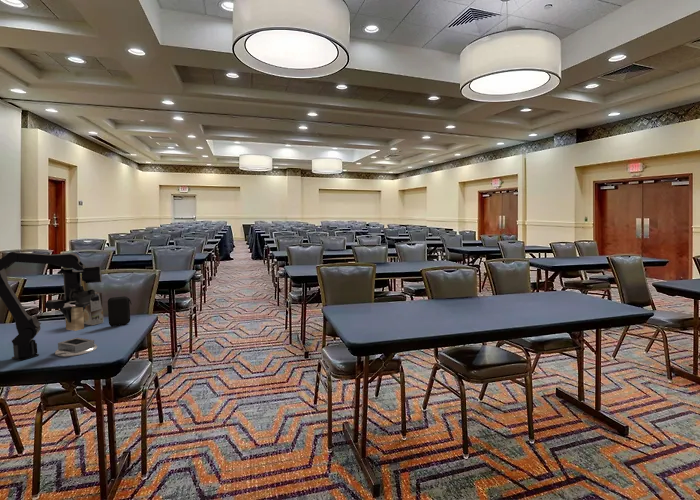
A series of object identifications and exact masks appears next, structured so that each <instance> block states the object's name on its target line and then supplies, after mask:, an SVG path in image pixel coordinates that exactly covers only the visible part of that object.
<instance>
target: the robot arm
mask: <svg viewBox="0 0 700 500" xmlns="http://www.w3.org/2000/svg"><path fill="white" fill-rule="evenodd" d="M15 263H24V264H25V263H26V264H27V263H29V264H43V265H53V266H56V267H57V266H58V267H60V268H61V269H60V270H59V271H58V272H56V273H57V275H63V286H62V287H61V290H63V291H64V292H63V293H64V296H62V299H51V300H47V301H46V302H45V303H44V308H45V309H49V310H50V309H51V310H58V309H59V310H60V312H61V313H62V314H63V316H64V317H66V319H67V321H68V322H69V323H71V309H72V305H71V304H75V305H74V306H76V307H83V312H84V309H85V307H86V306H87V305H89V304H90V303H89V302H90V301H93V302H94V301H99V295H98V294H95V292H96V291H95V289H88V290H84V286H83V285H82V282H85V284H90V283H92V284H93V283H102V281H103V280H102V278H103V277H102V276H103V275H102V271H101V266H100V265H95V266H86V265H85V264H84V263H83V262H82V261H81V258H80V256H79V255H78V254H77V253H74V252H70V253H69V252H68V253H58V254H57V253H56V254H49V253H35V252H21V251H16V250H14V251H10V252H8V253H7V254H6V255H4V256H3V257H1V258H0V299H1V301H2V302H3V304H4V306H5V307H6V308H7V310H8V312H9V313H10V315H11V316H12V318H13V320H14V323H15V327H16V328H15V329H16V331H17V335H16V336H15V337H14V338H13V339H11V343H12V349H13V350H12V351H13V356H12V357H11V359H13V360H17V361H24V360H28V359H30V358H35V357H38V356H39V355H40V354H39V353H38V344H37V342H36V339H35V338H36V336H37V335H38V333H40V331H41V324H42V322H40V321H39V320H38V318H37V315H34V316H31V315H29V314H28V312H27V311H26V310H25V308H24V306H23V304H22V303H21V301H20V299H19V298H18V297H17V295H16V293H15V292H14V290H13V288H12V286H11V285H10V284H9V280H8V277H7V276H8V274H7V272H6V270H7V269H8V268H10V267H11V266H12V265H14V264H15ZM66 319H65V320H66Z"/></svg>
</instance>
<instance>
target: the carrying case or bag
mask: <svg viewBox="0 0 700 500" xmlns="http://www.w3.org/2000/svg"><path fill="white" fill-rule="evenodd" d="M130 305H131V306H132V300H131V299H130V298H129V297H128V296H127V295H122V296H115V297H114V296H113V297H109V298H108V299H107V316H108V317H107V318H108V325H109V326H111V327H118V326H124V325H128V324H129V323H130V321H131V308H130Z"/></svg>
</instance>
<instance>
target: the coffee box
mask: <svg viewBox="0 0 700 500" xmlns="http://www.w3.org/2000/svg"><path fill="white" fill-rule="evenodd" d="M95 294H98V295H99V301H94V302H93V301H90V302H89V303H90V304H89V305H87V306H86V307H85V309H84V312H83V317H84V325H89V326H96V325H99V324H103V323H104V311H103V310H104V309H103V306H104V305H103V295H102V294H103V293H102V292H97V291H95Z"/></svg>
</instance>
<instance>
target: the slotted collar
mask: <svg viewBox="0 0 700 500" xmlns="http://www.w3.org/2000/svg"><path fill="white" fill-rule="evenodd" d="M97 349H98V345H97V344H95V339H94V340H93V339H89V338H82V337H75V338H71V339H67V340H63V341H59V342H57V349H56V351H54V354H55V356H57V357H64V358H65V357H74V356H81V355H85V354H89V353H91V352H94V351H96V350H97Z"/></svg>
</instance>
